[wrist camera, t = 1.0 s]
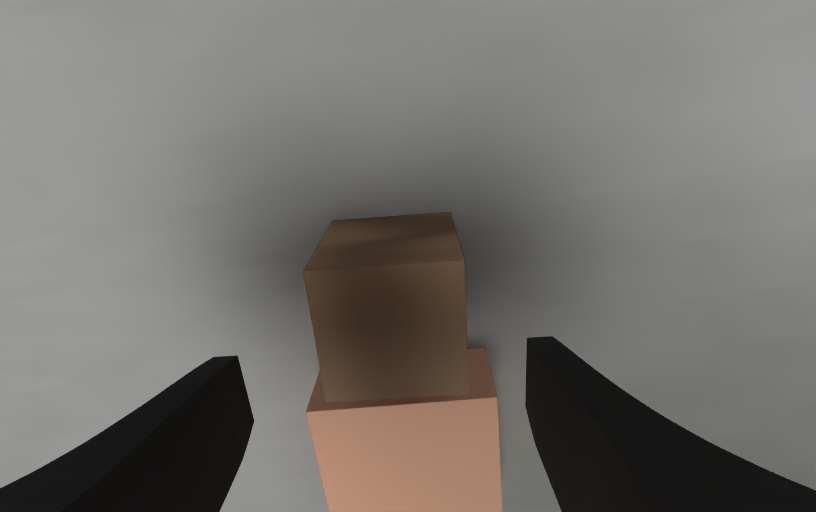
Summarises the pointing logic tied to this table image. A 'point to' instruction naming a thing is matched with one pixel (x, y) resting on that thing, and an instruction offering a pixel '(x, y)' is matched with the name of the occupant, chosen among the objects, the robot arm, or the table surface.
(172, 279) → the table surface
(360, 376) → the walnut block
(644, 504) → the robot arm
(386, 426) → the base block
